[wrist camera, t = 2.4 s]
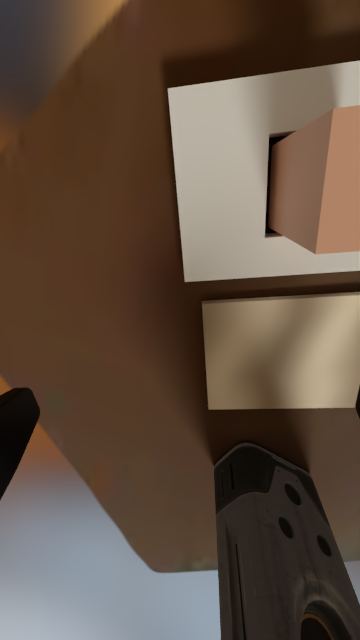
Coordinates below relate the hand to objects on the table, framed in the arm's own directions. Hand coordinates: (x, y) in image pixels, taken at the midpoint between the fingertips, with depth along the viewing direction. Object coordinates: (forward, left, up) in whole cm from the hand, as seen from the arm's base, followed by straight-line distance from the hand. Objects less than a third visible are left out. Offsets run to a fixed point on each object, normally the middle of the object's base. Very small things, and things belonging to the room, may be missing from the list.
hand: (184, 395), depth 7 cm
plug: (-6, -5, -13) cm, 15 cm away
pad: (-6, +7, -13) cm, 16 cm away
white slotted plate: (-6, -5, -13) cm, 15 cm away
